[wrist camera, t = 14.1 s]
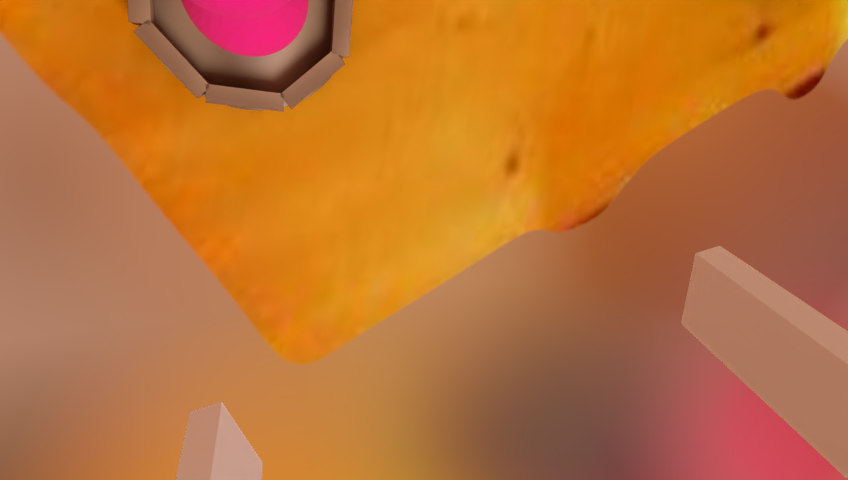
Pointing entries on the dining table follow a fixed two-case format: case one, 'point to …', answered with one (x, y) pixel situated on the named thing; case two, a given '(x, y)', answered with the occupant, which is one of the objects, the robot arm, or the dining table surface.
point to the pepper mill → (248, 23)
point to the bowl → (243, 75)
